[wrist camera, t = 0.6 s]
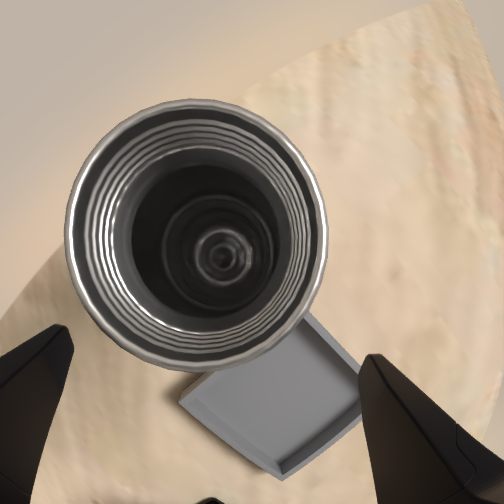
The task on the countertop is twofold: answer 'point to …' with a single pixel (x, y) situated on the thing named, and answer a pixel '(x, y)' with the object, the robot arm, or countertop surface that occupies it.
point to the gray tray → (282, 400)
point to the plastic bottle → (196, 235)
